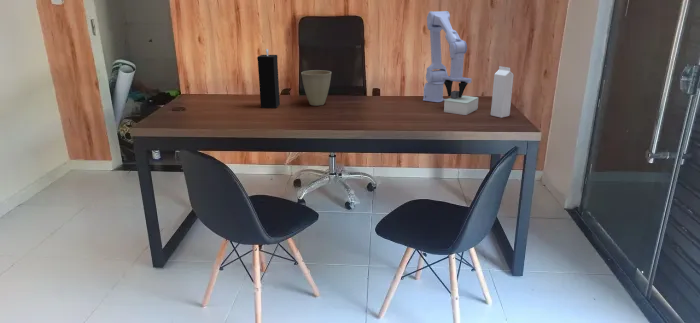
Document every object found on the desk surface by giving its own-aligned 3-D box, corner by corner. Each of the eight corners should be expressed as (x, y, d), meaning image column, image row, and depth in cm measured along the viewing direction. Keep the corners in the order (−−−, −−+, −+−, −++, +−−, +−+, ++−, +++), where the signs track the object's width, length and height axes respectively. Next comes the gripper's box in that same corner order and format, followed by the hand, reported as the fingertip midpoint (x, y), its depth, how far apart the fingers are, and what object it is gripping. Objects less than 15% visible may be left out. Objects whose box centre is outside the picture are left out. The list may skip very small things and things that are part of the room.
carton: (443, 111, 231) (444, 101, 229) (456, 106, 242) (456, 96, 240) (466, 115, 225) (466, 104, 223) (477, 109, 236) (478, 98, 234)
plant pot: (331, 107, 241) (330, 74, 236) (300, 107, 241) (299, 74, 236) (332, 100, 255) (332, 69, 250) (304, 100, 255) (302, 69, 250)
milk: (501, 118, 220) (506, 68, 213) (490, 115, 225) (494, 66, 217) (509, 115, 224) (514, 67, 216) (498, 113, 228) (503, 65, 220)
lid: (444, 101, 229) (444, 93, 228) (456, 95, 240) (457, 88, 239) (466, 104, 223) (467, 96, 222) (478, 98, 234) (479, 91, 233)
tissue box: (280, 104, 247) (277, 47, 238) (276, 108, 240) (273, 49, 230) (264, 104, 248) (261, 47, 238) (260, 108, 240) (256, 49, 231)
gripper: (438, 67, 229) (437, 96, 234) (468, 70, 222) (466, 100, 226) (445, 65, 235) (443, 93, 239) (474, 68, 227) (471, 97, 232)
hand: (454, 96), depth 233 cm, fingers open, 5 cm apart
